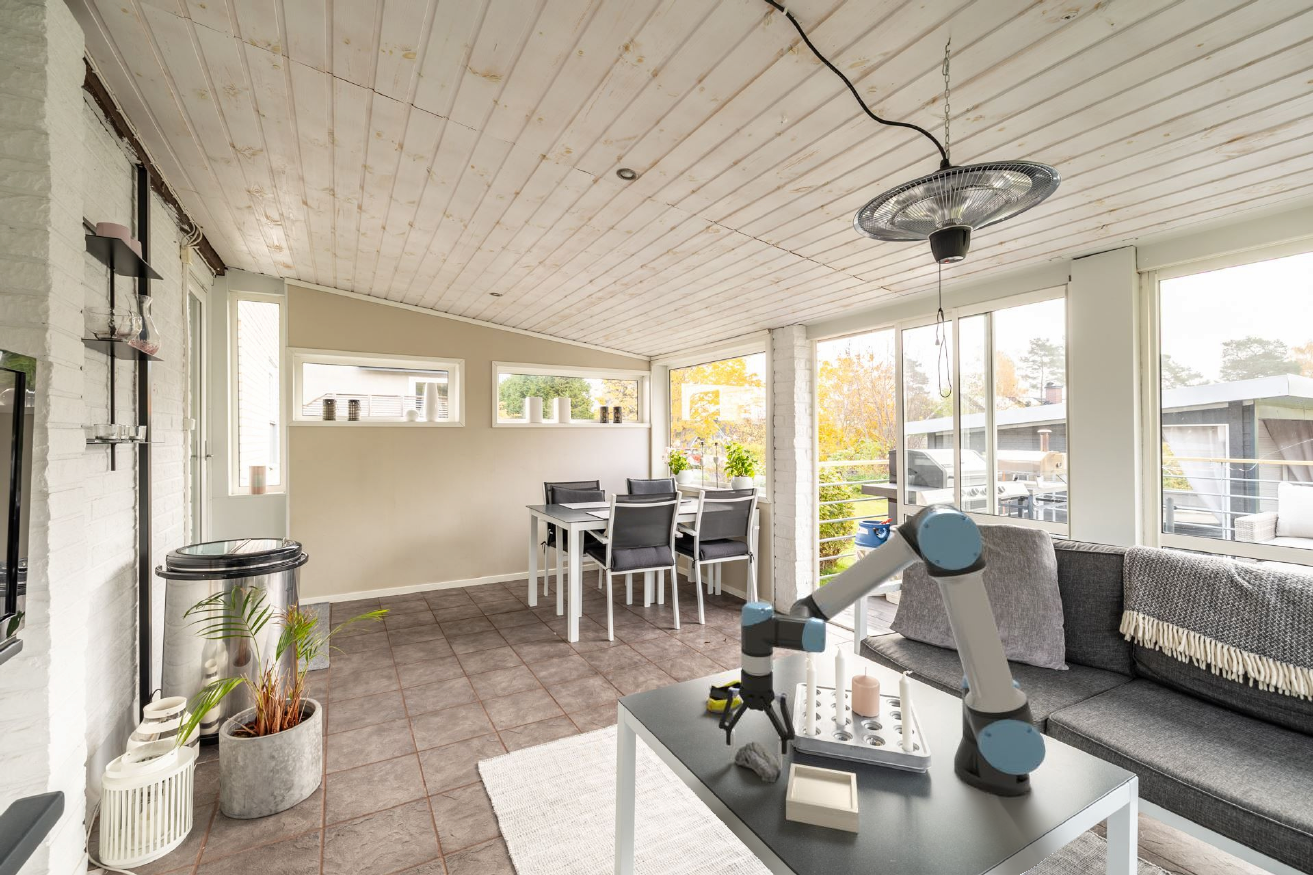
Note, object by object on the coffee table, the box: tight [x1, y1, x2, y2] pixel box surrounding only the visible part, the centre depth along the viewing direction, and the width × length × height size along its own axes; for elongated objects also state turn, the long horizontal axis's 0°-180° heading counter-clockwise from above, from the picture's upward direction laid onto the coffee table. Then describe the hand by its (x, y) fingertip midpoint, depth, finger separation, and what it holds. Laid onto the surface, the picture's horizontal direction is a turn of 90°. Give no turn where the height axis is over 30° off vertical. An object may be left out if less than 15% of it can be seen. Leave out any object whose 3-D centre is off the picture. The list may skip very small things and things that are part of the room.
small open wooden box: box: [785, 762, 859, 834], centre depth 124 cm, size 14×14×4 cm
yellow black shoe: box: [706, 679, 743, 714], centre depth 169 cm, size 15×6×10 cm
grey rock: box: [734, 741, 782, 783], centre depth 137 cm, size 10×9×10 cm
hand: (756, 762), depth 138 cm, fingers open, 10 cm apart
